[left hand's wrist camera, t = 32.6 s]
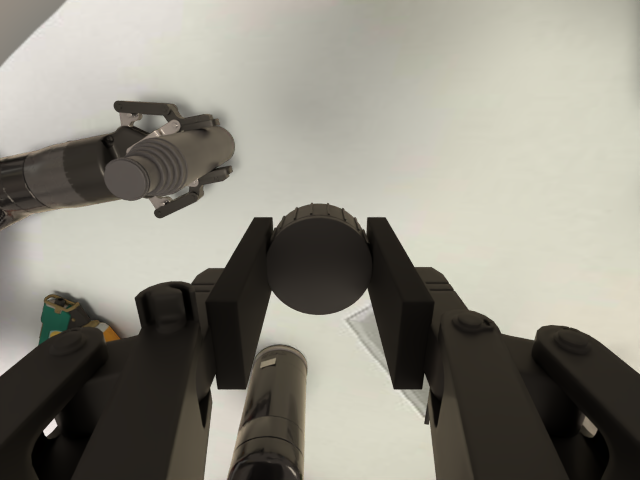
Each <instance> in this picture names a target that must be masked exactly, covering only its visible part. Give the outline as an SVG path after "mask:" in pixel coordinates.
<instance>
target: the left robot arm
mask: <svg viewBox="0 0 640 480" xmlns="http://www.w3.org/2000/svg"><path fill="white" fill-rule="evenodd" d="M272 233H273V219H272V217H254V219H253V221H252V222H251V224H250V226H249V227H248V229H247V231H246V233H245V234H244V236H243V238H242V239H241V241H240V243H239V245H238V246H237V248H236V250H235V251H234V253H233V255H232V257H231V258H230V260H229V262H228V263H227V265H226V267H225V268H208V269H206V270H205V271H203V272H202V273H200V274H199V275H197V276H196V278H195V279H194V281H193V282H192V283H191V284H190V283H186V282H182V281H171V282H165V283H160V284H157V285H154V286H151V287H148V288H147V289H145V290H143V291H141V292H140V293H139V294H138V295H137V296H136V297H135V301H136V306H137V310H138V314H139V319H140V323H141V327H142V328H141V330H140V333H139V335H137V336H133V337H129V338H124V339H118V340H113V341H108V342H106V341H105V338H104V334H103V332H102V331H101V330H100V329H98V328H94V327H78V328H72V329H68V330H65V331H62V332H61V333H59V334H57V335H54V336H52V337H50V338H49V339H47V340H46V341H44V342H42V343H41V344H40V345H38V346H37V347H36V348H35V349H33V350H32V351H31V352H30V353H29V354H27V355H26V356H25V357H24V358H22V359H21V360H20V361H19V362H17V363H16V364H15V365H14V366H13V367H11V368H10V369H9V370H8V371H6V372H5V373H4V374H3V375H1V376H0V480H204V472H205V463H206V454H207V446H208V437H209V428H210V419H211V410H212V397H211V390H210V387H211V384H212V382H213V379H214V376H215V374H216V381H217V388H218V389H246V387H247V383H248V380H249V376H250V372H251V368H252V364H253V360H254V356H255V353H256V349H257V345H258V341H259V337H260V333H261V329H262V326H263V322H264V318H265V314H266V310H267V306H268V303H269V299H270V295H271V291H272V289H271V288H270V286H269V284H268V276H267V260H266V254H267V251H268V248H269V246H270V243H271V242H270V239H271V236H272ZM366 236H367V239H368V242H369V244H368V246H369V249H370V252H371V256H372V261H373V271H372V277H371V280H370V283H369V285H368V287H367V288H368V292H369V296H370V300H371V303H372V307H373V311H374V315H375V319H376V323H377V326H378V330H379V334H380V338H381V342H382V346H383V350H384V353H385V357H386V361H387V365H388V369H389V373H390V377H391V380H392V384H393V388H394V389H422V386H423V379H424V373H425V375H426V378H427V380H428V383H429V386H430V390H429V397H428V403H427V409H426V416H425V422H424V424H428V425H429V421H430V427H431V436H432V445H433V454H434V462H435V471H436V480H640V374H639V373H638V372H636V371H635V370H634V369H633V368H631V367H630V366H629V365H628V364H626V363H625V362H624V361H623V360H621V359H620V358H619V357H618V356H616V355H615V354H614V353H613V352H611V351H610V350H609V349H608V348H606V347H605V346H604V345H603V344H602V343H600V342H599V341H597V340H596V339H594V338H593V337H591V336H589V335H587V334H585V333H583V332H580V331H579V330H577V329H574V328H571V327H570V328H569V327H566V326H556V325H549V326H543V327H541V328H540V329H539V330H537V333H536V337H535V340H529V339H524V338H519V337H514V336H509V335H505V334H501V332H500V330H499V328H498V326H497V325H496V324H495V323H494V321H492V320H491V319H489V318H488V317H486V316H485V315H482V314H480V313H477V312H475V311H470V310H468V308H467V307H466V306H465V304H464V303H463V301H462V300H461V299H460V297H459V296H458V295H457V293H456V292H455V291H454V289H453V288H452V286H451V285H450V284H449V282H448V281H447V279H446V278H445V277H444V275H443V274H442V273H440V272H438V271H437V270H435V269H434V268H432V267H414V266H413V264H412V262H411V260H410V259H409V257H408V255H407V254H406V252H405V250H404V248H403V247H402V245H401V243H400V241H399V240H398V238H397V236H396V235H395V233H394V231H393V229H392V228H391V226H390V224H389V223H388V221H387V219H386V217H367V233H366ZM585 417H587V418H588V419H589V420H590V421H591V422H592V423H593V425H594V426H595V427H596V428H597V432H596V434H595V435H592V434H591V433H590V432H589V431H588V430H587V429H586V428H585V427H584V425H583V422H584V419H585ZM54 418H55V420H56V423H57V425H58V426H57V427H56V428H55V429H54V431H53V432H52V433H51V434H49V435H48V436H47V437H46V436H45V435H44V433H43V430H44V429H45V428H46V427H47V426H48V425H49V424H50V422H51V421H52V420H53V419H54Z"/></svg>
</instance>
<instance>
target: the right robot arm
mask: <svg viewBox="0 0 640 480" xmlns="http://www.w3.org/2000/svg"><path fill="white" fill-rule="evenodd" d="M114 109H115V110H116V111H117V112H119V113H120V120H121V127H119V128H118V129H117V130H116V131H115V132H113V133H110V134H105V135H100V136H95V137H90V138H85V139H80V140H75V141H68V142H65V143H60V144H55V145H51V146H48V147H46V148H43V149H40V150H37V151H32V152H27V153H22V154H17V155H13V156H8V157H3V158H0V231H1V230H3V229H5V228H7V227H8V226H10V225H12V224H14V223H16V222H18V221H20V220H22V219H24V218H26V217H28V216H30V215H32V214H34V213H40V212H46V211H51V210H56V209H62V208H77V207H83V206H89V205H94V204H99V203H104V202H110V201H115V200H120V198H118V197H116V196H115V195H114V194H112V193H111V192H110V191H109V189H108V188H107V186H106V184H105V180H104V172H105V169H106V168H105V167H106V165H107V164H108V163H109V162H110V161H112V160H114V159H117V158H124V157H125V156H126V154H127V153H128V152H129V151H130V149H131V148H132V147H133V146H134V145H135V144H137V143H138V142H140V141H142V140H144V139H147V138H152V137H157V136H163V135H168V134H173V133H179V132H182V131H189V130H196V129H201V128H206V127H211V126H216V125H220V123H219V119H213V116H212V115H209V114H203V115H198V116H193V117H188V118H184V117H182V116H181V115H180V114H179V112H178V109H177V107H176V105H174V104H166V103H151V102H136V101H116V102H115V103H114ZM142 114H150V115H163V116H164V117H165V118H166V120H167V121H168V123H167V124H165V125H164V126H162V127H161V128H159V129H157V130H155V131H154V132H152V133H151V134H150V133H148V132H146V131H144V130H141V129H139V128H137V127H135V126H133V124H134V122H135V121H137V120H141V119H142ZM231 172H233V170H232V166H226V167H220V168H215V169H213V170H212V171H210V172H208V173H207V174H205V175H203V176H202V177H200V178H199V179H197V180H195V181H194V182H192V183H190V184H189V185H187V186H189V192H188V193H186V194H184V195H182V196H180V197H178V198H176V199H174V200H172V198H171V197H169V196H165V197H162V196H149V195H145V196H144V197H143V198H149V199H150V201H151V202H152V204H153V205H154V207H155V208H156V210H155V211H154V214H155V216H156V217H157V218H163V217H165V216H167V215H169V214H171V213H173V212H175V211H177V210H180V209H182V208H184V207H186V206H188V205H190V204H192V203H194V202H196V201H197V200H199V199H200V198H201V197H202V196H203V195H204V191H203V185H204V184H209V183H215V182H220V181H224V180H225V179H227V178H228V177H229V174H230V173H231ZM306 376H307V362H306V360H305V358H304V356H303V355H302V354H301V353H300V352H299V351H297V350H296V349H294V348H291V347H288V346H283V345H277V346H271V347H268V348H266V349H264V350H262V351H261V352H260V353H259V354H258V355H257V356H256V358H255V360H254V364H253V371H252V375H251V379H250V383H249V388H248V392H247V396H246V400H245V405H244V409H243V413H242V418H241V422H240V426H239V430H238V435H237V439H236V444H235V448H234V452H233V457H232V461H231V465H230V469H229V473H228V476H227V480H303V478H304V445H305V406H306Z"/></svg>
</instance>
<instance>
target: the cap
mask: <svg viewBox="0 0 640 480" xmlns="http://www.w3.org/2000/svg"><path fill="white" fill-rule="evenodd" d="M270 242H271V243H270V246H269V248H268V251H267V254H266V260H267V276H268V284H269V286H270V288H271V289H272V291H273V292H274V294H275V295H276V296H277V297H278V298H279V299H280V300H281V301H282V302H283V303H284V304H286V305H287V306H289V307H290V308H292V309H294V310H297V311H299V312H302V313H307V314H313V315H325V314H331V313H336V312H338V311H341V310H343V309H345V308H347V307H349V306H351V305H352V304H354V303H355V302H356V301H357V300H358V299H359V298H360V297H361V296H362V295H363V294H364V292H365V291H366V289H367V287H368V285H369V283H370V280H371V277H372V271H373V261H372V256H371V252H370V249H369V246H368V244H369V242H368V239H367V236H366V233H365V231H364V229H363V230H362V228H361V226H360V224H359V223H358V222H357V219H356V217H353V216H351V215H350V214H349V213H348V212H346V211H345V210H344V208H342V209H341V208H338V207H336V206H332V205H329V203H327V204H313V203H311V204H310V205H306V206H302V207H300V208H298V207H296V209H295V210H294V211H292V212H290V213H289V214H288V215H286V216H283V218H282V220H281V222H280V223H279V224H278V226H277V228H274V231H273V233H272V236H271V239H270Z"/></svg>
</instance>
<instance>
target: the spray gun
mask: <svg viewBox="0 0 640 480" xmlns="http://www.w3.org/2000/svg"><path fill="white" fill-rule="evenodd" d="M51 297H54V298H57V299H56V300H54V299H52V300H47V299H49V298H51ZM44 302H45V303H44V307H43V312H42V316H41V322H42V328H41V333H40V337H39V338H40V340H39V345H40V344H41V343H42V342H44V341H46V340H47V339H49V338H50V337H52V336H54V335H57V334H59V333H61V332H62V331H65V330H68V329H72V328H78V327H82V326H83V327H94V328H98V329H100V330H101V331H102V332H103V334H104V338H105V341H106V342H108V341H113V340H118V339H120V338H119V337H118V335H117V334H116V333H115V332H114V331H113V330H112V328H111V327H110V326H109V325H107V324H106V323H100V322H99V321H98V320H94V321H91V320H90V318H89V317H88V315H87V314H86V312H85V311H84V310H83V308H82V307H81V306H80V304H79V303H78V302H76V303H74V302H71V301H69V300H67V299H64V298H62V297H59V296H57V295H54V294H51V295H48V296H47V297H45V299H44ZM69 304H71V305H69ZM68 305H69V306H68ZM72 305H73V306H72Z"/></svg>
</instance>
